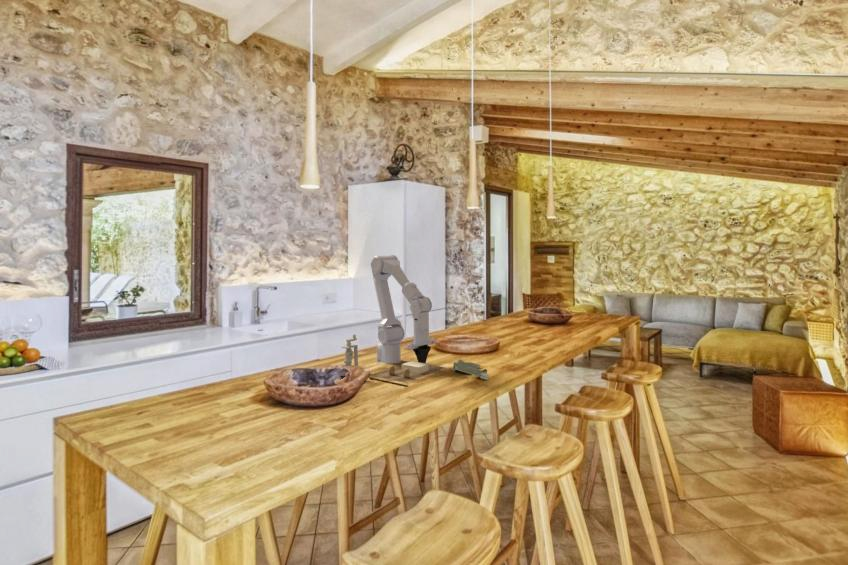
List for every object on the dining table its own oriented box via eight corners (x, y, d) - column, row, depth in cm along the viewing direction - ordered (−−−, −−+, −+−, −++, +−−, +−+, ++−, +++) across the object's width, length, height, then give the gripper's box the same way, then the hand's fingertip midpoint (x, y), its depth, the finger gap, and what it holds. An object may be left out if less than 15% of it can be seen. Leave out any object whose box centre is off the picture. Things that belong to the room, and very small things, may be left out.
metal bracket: (454, 365, 172) (454, 355, 187) (449, 380, 172) (450, 369, 187) (493, 376, 171) (490, 365, 186) (488, 391, 172) (486, 380, 187)
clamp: (336, 379, 176) (335, 338, 175) (349, 372, 185) (348, 333, 184) (346, 380, 175) (345, 339, 173) (359, 373, 184) (358, 334, 182)
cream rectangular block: (401, 370, 181) (401, 364, 180) (412, 367, 185) (411, 361, 185) (418, 374, 176) (418, 367, 176) (428, 370, 180) (428, 363, 180)
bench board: (369, 379, 176) (369, 366, 175) (411, 365, 195) (411, 354, 194) (405, 386, 165) (404, 373, 165) (446, 371, 184) (446, 359, 184)
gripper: (417, 333, 174) (418, 371, 175) (441, 328, 186) (441, 363, 187) (402, 332, 179) (403, 368, 180) (426, 326, 190) (427, 360, 191)
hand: (422, 365), depth 184 cm, fingers closed
